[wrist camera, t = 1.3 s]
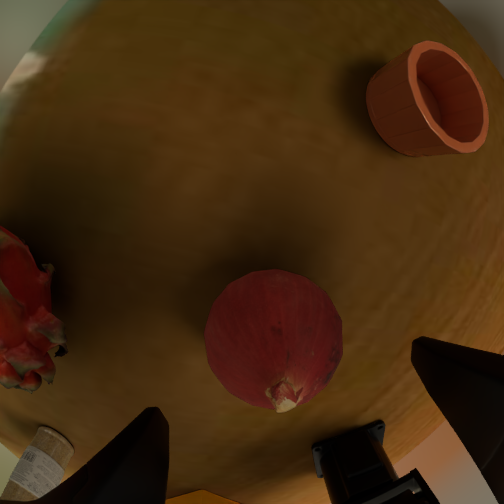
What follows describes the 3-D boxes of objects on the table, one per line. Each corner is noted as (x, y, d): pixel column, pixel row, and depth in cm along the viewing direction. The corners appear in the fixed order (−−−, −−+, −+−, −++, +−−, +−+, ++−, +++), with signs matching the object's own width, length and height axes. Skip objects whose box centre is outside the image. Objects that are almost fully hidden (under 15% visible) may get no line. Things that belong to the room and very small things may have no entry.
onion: (331, 269, 15) (411, 342, 7) (295, 356, 16) (331, 459, 8) (227, 238, 14) (220, 301, 6) (200, 334, 15) (179, 444, 7)
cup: (448, 152, 14) (497, 150, 9) (380, 162, 14) (429, 157, 9) (425, 70, 12) (467, 50, 8) (352, 67, 12) (389, 34, 8)
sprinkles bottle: (50, 446, 18) (10, 528, 5) (32, 419, 17) (-19, 505, 4) (82, 457, 18) (46, 549, 5) (65, 431, 17) (16, 531, 4)
